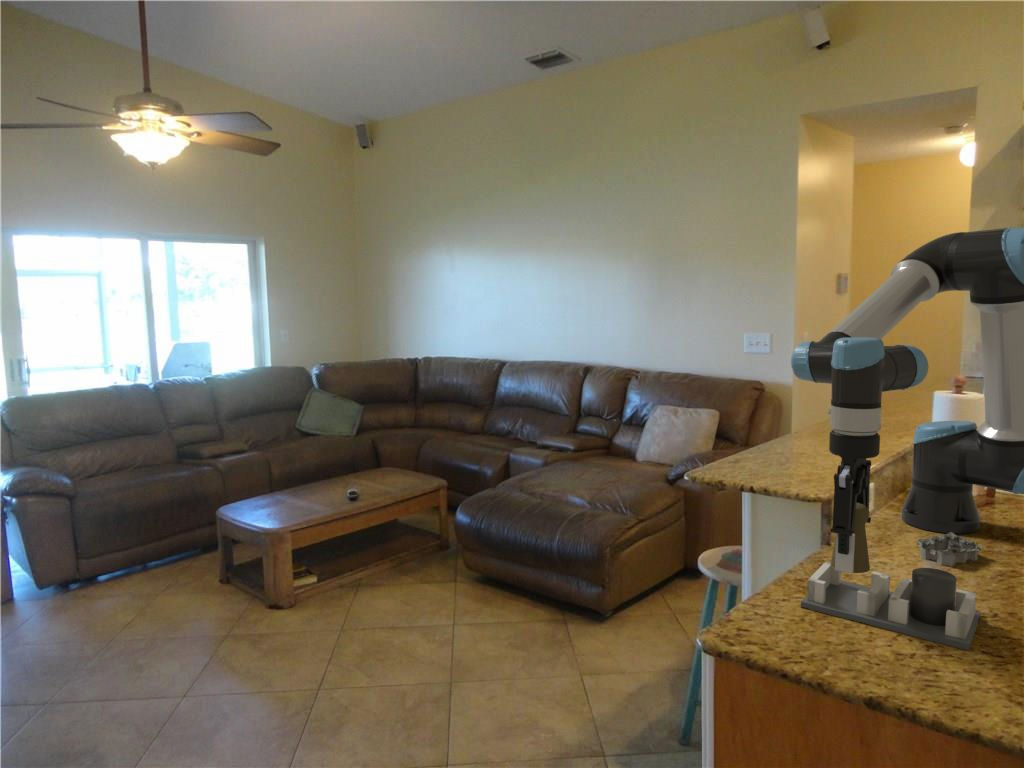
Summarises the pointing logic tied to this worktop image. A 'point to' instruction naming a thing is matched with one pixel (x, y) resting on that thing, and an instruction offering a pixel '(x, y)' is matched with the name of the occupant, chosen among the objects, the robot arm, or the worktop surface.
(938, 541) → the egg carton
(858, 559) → the cork
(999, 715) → the worktop surface
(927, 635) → the socket board
